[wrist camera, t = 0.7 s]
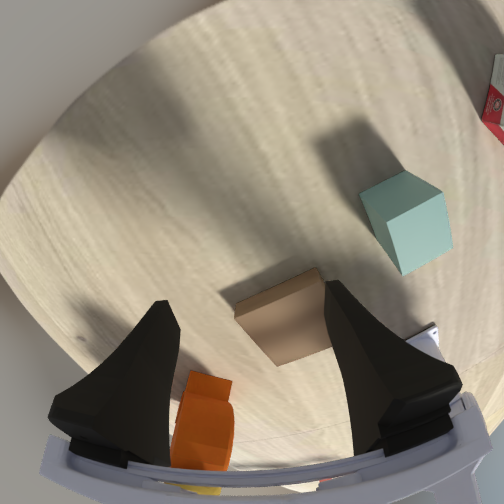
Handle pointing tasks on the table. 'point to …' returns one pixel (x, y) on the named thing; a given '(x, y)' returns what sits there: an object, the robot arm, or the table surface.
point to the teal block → (408, 220)
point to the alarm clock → (203, 429)
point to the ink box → (496, 100)
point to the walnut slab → (287, 318)
